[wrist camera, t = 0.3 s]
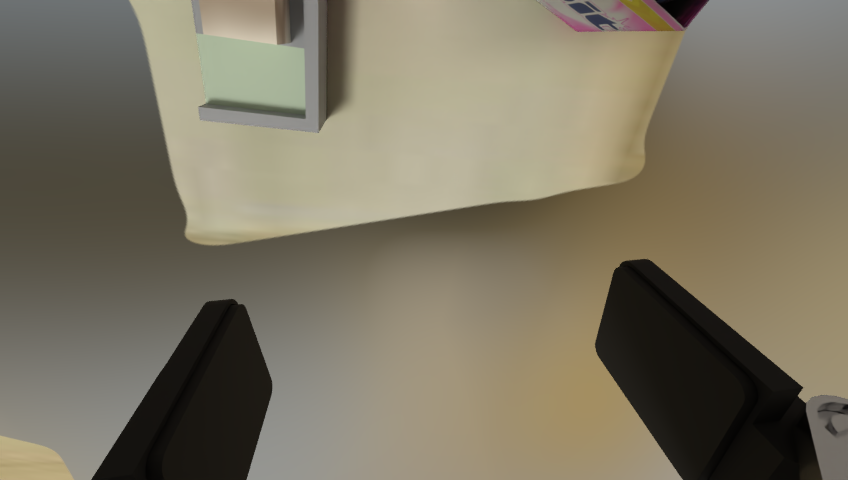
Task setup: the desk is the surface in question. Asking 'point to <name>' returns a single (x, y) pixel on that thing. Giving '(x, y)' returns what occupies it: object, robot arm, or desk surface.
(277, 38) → the cream block
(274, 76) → the track
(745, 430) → the robot arm
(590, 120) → the desk surface
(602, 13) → the gum box
